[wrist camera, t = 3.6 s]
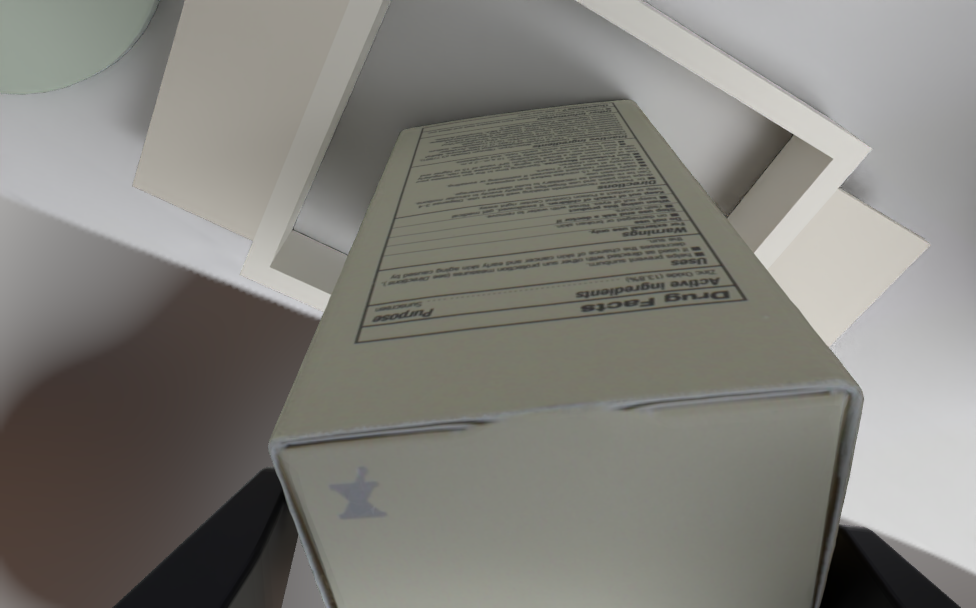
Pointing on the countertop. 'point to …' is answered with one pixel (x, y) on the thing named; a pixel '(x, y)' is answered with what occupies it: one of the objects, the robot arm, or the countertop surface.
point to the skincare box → (561, 387)
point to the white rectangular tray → (326, 90)
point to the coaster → (65, 40)
